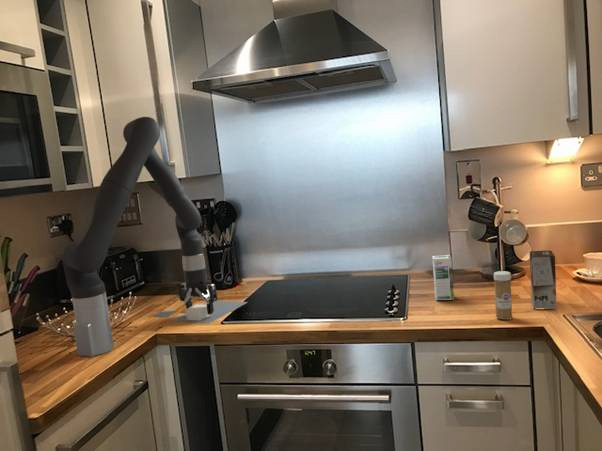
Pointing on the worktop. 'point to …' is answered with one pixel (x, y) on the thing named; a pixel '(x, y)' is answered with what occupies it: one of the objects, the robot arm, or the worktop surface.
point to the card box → (197, 312)
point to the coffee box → (543, 279)
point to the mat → (215, 311)
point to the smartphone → (164, 314)
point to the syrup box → (443, 277)
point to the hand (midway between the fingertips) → (200, 313)
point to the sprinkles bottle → (503, 294)
